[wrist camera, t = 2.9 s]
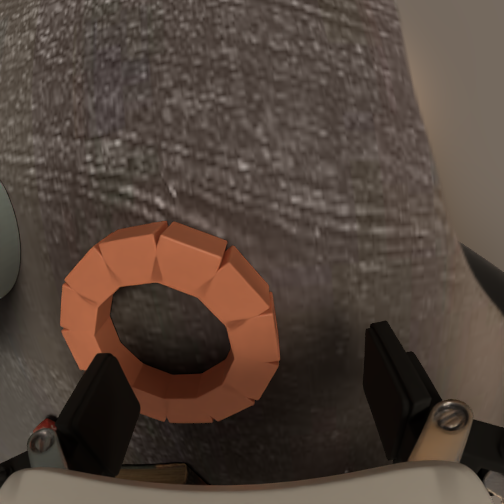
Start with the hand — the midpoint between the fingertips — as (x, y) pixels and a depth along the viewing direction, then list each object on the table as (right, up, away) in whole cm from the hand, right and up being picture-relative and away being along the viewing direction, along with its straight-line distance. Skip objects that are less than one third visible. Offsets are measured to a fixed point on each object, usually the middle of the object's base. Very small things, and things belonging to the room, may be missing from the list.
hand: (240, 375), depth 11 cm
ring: (-4, +1, +4) cm, 6 cm away
